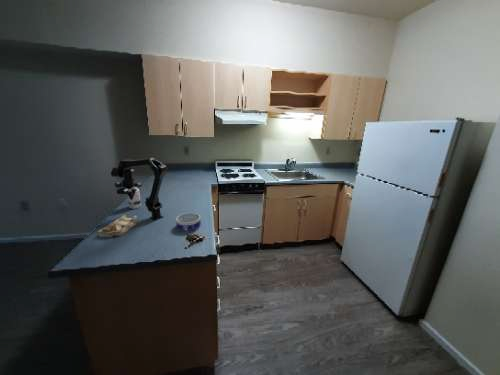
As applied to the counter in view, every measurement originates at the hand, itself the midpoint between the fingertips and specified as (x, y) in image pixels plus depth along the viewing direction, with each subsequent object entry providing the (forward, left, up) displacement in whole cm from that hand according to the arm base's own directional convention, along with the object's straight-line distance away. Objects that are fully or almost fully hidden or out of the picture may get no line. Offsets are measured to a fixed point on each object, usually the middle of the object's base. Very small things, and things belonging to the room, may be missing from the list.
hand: (131, 199), depth 150 cm
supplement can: (+14, -8, -12) cm, 20 cm away
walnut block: (-15, +21, -12) cm, 28 cm away
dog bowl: (-43, -15, -12) cm, 47 cm away
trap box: (-13, +13, -12) cm, 22 cm away
